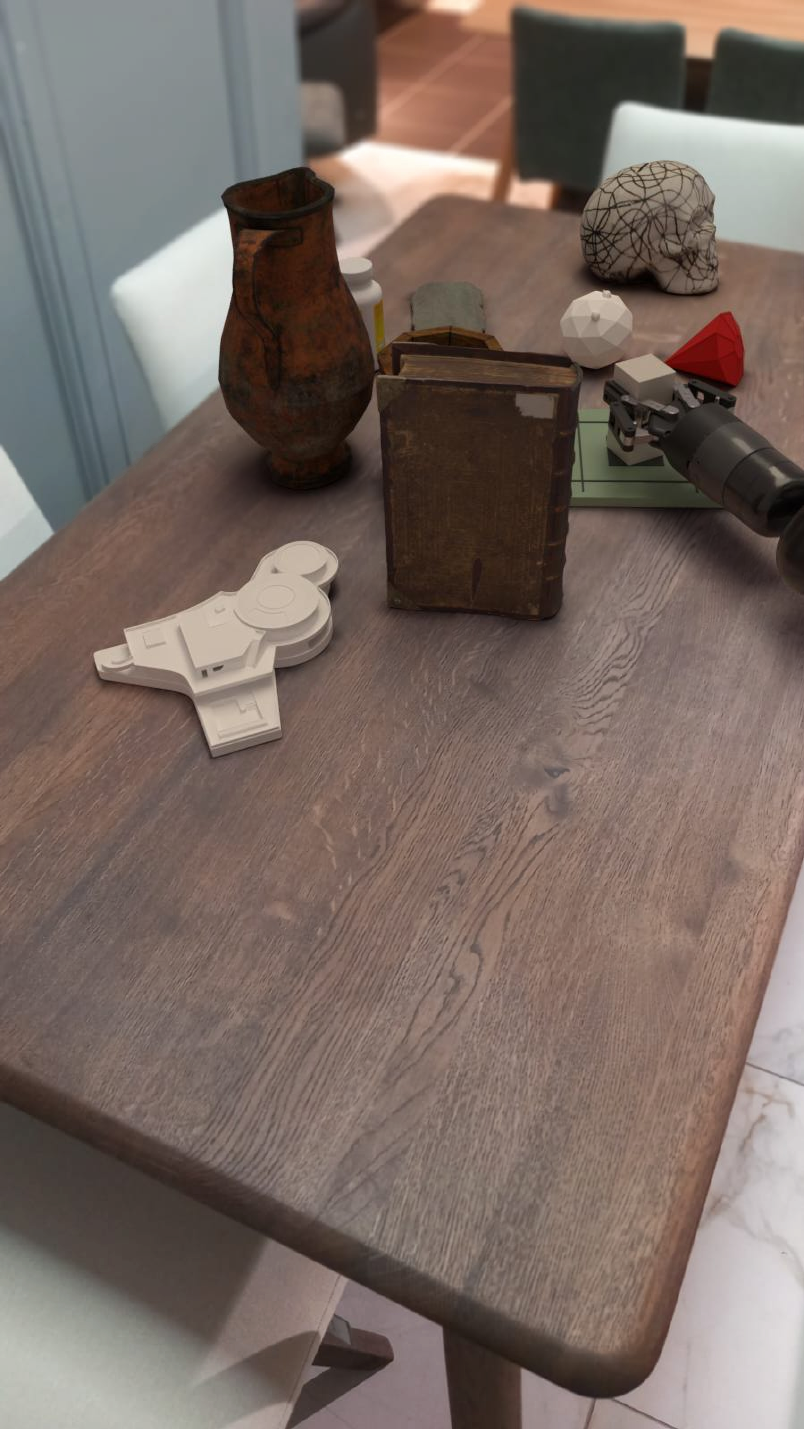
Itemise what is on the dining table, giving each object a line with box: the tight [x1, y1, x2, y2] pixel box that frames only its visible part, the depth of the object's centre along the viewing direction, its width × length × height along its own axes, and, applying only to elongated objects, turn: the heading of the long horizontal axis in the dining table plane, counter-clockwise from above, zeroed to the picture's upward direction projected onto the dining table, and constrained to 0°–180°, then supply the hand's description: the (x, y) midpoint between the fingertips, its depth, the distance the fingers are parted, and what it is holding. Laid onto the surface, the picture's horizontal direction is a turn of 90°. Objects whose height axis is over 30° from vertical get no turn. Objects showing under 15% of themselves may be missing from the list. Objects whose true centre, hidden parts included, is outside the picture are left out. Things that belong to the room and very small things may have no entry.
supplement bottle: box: [338, 256, 387, 372], centre depth 136 cm, size 7×7×13 cm
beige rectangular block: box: [606, 353, 677, 466], centre depth 118 cm, size 5×5×10 cm
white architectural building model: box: [93, 540, 340, 759], centre depth 101 cm, size 23×25×4 cm
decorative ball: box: [559, 289, 634, 370], centre depth 136 cm, size 9×10×12 cm
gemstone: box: [663, 310, 746, 387], centre depth 135 cm, size 9×9×10 cm
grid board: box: [569, 408, 725, 509], centre depth 123 cm, size 20×18×1 cm
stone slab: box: [410, 281, 487, 333], centre depth 146 cm, size 22×3×10 cm
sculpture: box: [579, 159, 720, 295], centre depth 150 cm, size 15×20×15 cm
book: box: [375, 342, 584, 621], centre depth 98 cm, size 17×7×25 cm, turn 73°
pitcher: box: [217, 166, 376, 490], centre depth 113 cm, size 17×21×30 cm
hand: (627, 382), depth 119 cm, fingers closed on beige rectangular block, 4 cm apart
